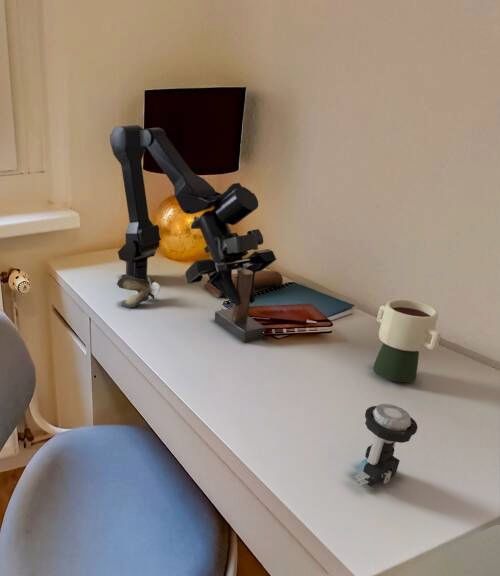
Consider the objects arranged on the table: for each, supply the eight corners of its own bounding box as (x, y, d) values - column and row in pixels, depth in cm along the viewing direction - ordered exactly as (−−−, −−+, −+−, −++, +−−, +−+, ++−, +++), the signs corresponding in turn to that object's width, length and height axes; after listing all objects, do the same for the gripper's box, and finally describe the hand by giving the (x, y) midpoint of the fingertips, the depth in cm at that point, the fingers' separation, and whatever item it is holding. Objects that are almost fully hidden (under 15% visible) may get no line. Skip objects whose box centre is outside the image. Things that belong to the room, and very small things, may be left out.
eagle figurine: (142, 286, 116) (111, 287, 112) (155, 268, 111) (123, 268, 107) (153, 311, 112) (122, 313, 108) (167, 294, 107) (135, 295, 103)
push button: (375, 502, 55) (395, 437, 52) (335, 473, 60) (350, 410, 56) (408, 482, 58) (429, 418, 54) (367, 455, 63) (384, 394, 59)
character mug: (439, 390, 75) (462, 319, 70) (404, 397, 74) (425, 326, 69) (383, 356, 85) (400, 292, 80) (351, 362, 83) (366, 297, 78)
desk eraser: (214, 321, 100) (219, 265, 95) (233, 317, 101) (239, 262, 96) (243, 342, 91) (251, 282, 86) (264, 338, 92) (273, 278, 87)
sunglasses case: (260, 274, 122) (271, 258, 117) (274, 295, 118) (286, 279, 113) (201, 284, 117) (211, 268, 112) (214, 307, 113) (224, 290, 108)
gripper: (196, 222, 88) (226, 296, 82) (276, 211, 93) (309, 280, 88) (173, 249, 98) (199, 317, 92) (247, 238, 103) (274, 301, 98)
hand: (245, 303), depth 92 cm, fingers closed on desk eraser, 3 cm apart
